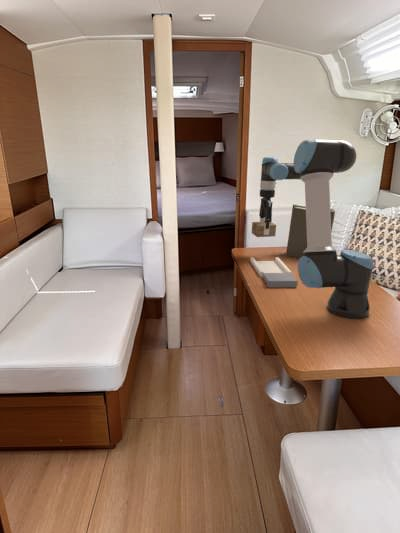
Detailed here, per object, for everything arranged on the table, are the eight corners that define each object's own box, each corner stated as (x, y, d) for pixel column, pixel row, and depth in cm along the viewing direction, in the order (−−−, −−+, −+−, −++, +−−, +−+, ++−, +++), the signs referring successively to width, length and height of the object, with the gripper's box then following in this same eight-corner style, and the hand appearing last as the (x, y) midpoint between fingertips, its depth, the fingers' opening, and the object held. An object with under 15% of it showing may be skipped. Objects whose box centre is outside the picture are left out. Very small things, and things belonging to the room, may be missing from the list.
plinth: (296, 287, 163) (297, 280, 162) (268, 287, 162) (268, 281, 161) (289, 278, 172) (290, 272, 171) (262, 279, 171) (263, 273, 170)
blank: (275, 236, 191) (276, 225, 189) (257, 237, 189) (258, 225, 187) (268, 232, 198) (269, 221, 196) (251, 233, 196) (252, 222, 194)
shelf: (291, 278, 173) (291, 272, 172) (259, 278, 172) (260, 272, 171) (277, 262, 194) (278, 257, 193) (250, 262, 193) (250, 257, 192)
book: (324, 256, 208) (333, 207, 198) (327, 261, 199) (336, 210, 189) (286, 252, 211) (293, 204, 201) (286, 257, 202) (293, 207, 193)
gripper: (280, 192, 176) (276, 237, 183) (269, 186, 196) (265, 227, 204) (265, 192, 175) (261, 237, 183) (255, 186, 195) (252, 227, 203)
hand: (263, 232), depth 193 cm, fingers closed on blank, 9 cm apart
